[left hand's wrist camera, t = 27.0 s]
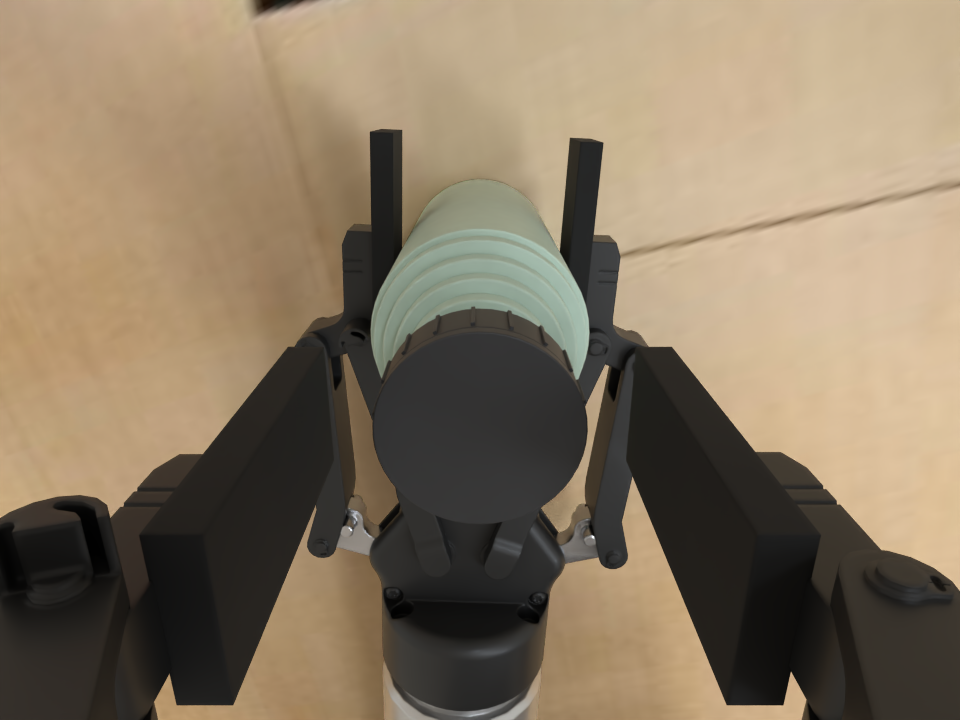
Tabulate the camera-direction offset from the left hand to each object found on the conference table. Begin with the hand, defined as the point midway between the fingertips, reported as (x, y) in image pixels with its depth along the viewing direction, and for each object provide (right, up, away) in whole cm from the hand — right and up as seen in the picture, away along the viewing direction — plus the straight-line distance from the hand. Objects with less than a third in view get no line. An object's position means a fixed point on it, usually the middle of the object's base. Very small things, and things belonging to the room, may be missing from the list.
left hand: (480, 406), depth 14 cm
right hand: (0, +9, +9) cm, 12 cm away
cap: (0, 0, -1) cm, 1 cm away
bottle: (0, +6, +16) cm, 17 cm away
